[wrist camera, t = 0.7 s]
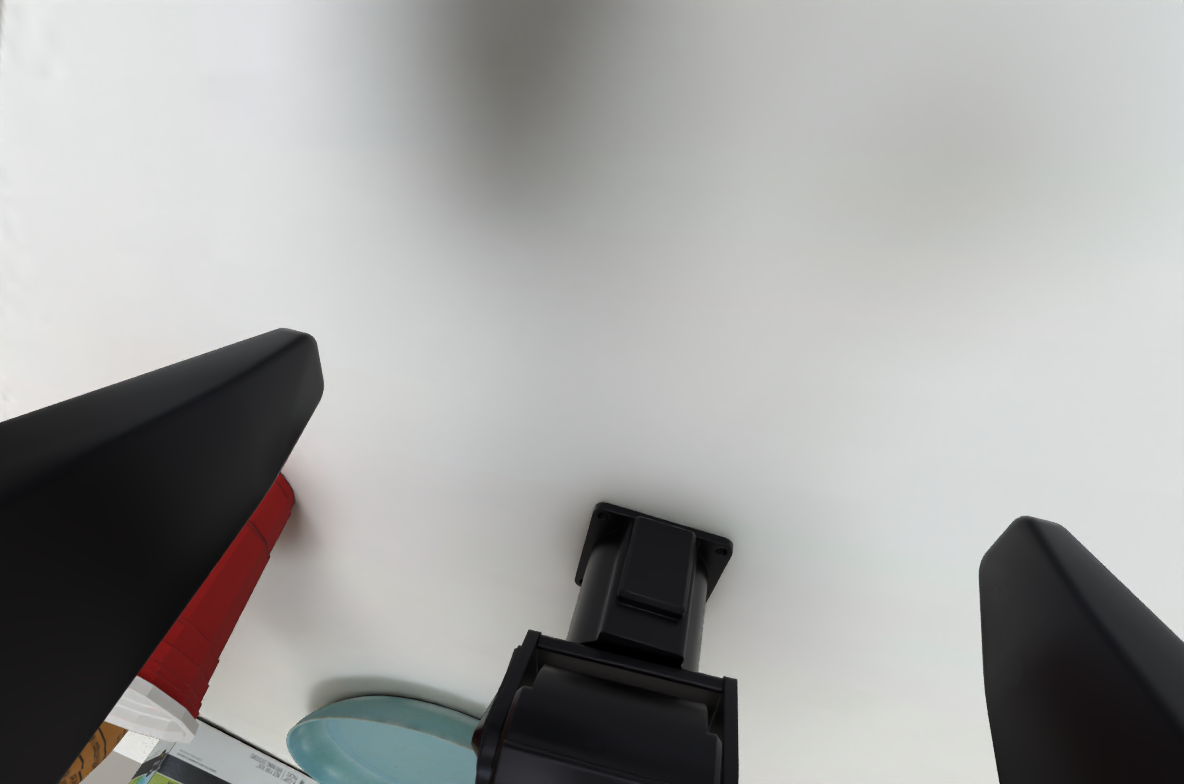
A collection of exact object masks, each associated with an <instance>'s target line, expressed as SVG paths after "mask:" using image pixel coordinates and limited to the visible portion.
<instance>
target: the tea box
mask: <svg viewBox="0 0 1184 784" xmlns="http://www.w3.org/2000/svg"><path fill="white" fill-rule="evenodd" d="M196 721H197V723H198V724H199V727H198V729H197V732H196V735H195V737H194V738H193V740H192V741H191V742H190V743H180V742H168V741H164V740H161V739H160V740H159V742H158V743H157V745H156V746H155V747H154V749H153V750H152V751H151V753H150V754H149V756H148V757H147V758H146V760H145V761H144V763H143V764H142V765H141V767H140V768H139V769H138V771H137V772H136V774H135V775H134V777H133V778H132V780H131V781H130V783H129V784H318V782H317V781H316V780H314V779H312V778H310V777H308V776H306V775H304V774H302V773H301V772H299V771H297V770H295V769H293V768H291V767H289V766H287V765H285V764H283V763H281V762H279V761H277V760H275V759H273V758H271V757H269V756H267V755H265V754H263V753H261V752H260V751H258V750H256V749H254V748H252V747H250V746H248V745H246V744H244V743H242V742H240V741H238V740H236V739H234V738H232V737H230V736H229V735H227V734H225V733H223V732H221V731H219V730H217V729H215V728H213V727H211V726H209V725H208V724H206V723H204V722H202V721H200V720H198V719H196Z"/></svg>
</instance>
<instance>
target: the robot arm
mask: <svg viewBox="0 0 1184 784" xmlns="http://www.w3.org/2000/svg"><path fill="white" fill-rule="evenodd" d="M323 390H324V380H323V374H322V369H321V363H320V358H319V352H318V346H317V342H316V340H315V339H314V337H313V336H311V335H310V334H307V333H304V332H300V331H296V330H292V329H287V328H279V329H276V330H273V331H270V332H267V333H264V334H261V335H258V336H255V337H252V338H249V339H246V340H243V341H240V342H237V343H234V344H231V345H228V346H225V347H223V348H220V349H217V350H214V351H211V352H208V353H205V354H202V355H199V356H196V357H193V358H190V359H187V360H184V361H181V362H178V363H175V364H172V365H169V366H166V367H163V368H160V369H157V370H154V371H151V372H149V373H146V374H143V375H140V376H137V377H134V378H131V379H128V380H125V381H122V382H119V383H116V384H113V385H110V386H107V387H104V388H101V389H98V390H95V391H92V392H89V393H86V394H83V395H80V396H77V397H75V398H72V399H69V400H66V401H63V402H60V403H57V404H54V405H51V406H48V407H45V408H42V409H39V410H36V411H33V412H30V413H27V414H24V415H21V416H18V417H15V418H12V419H9V420H6V421H3V422H1V423H0V784H59V783H60V782H61V780H62V779H63V777H64V776H65V775H66V773H67V772H68V770H69V769H70V768H71V766H72V765H73V764H74V762H75V761H76V759H77V758H78V757H79V755H80V754H81V752H82V751H83V750H84V748H85V747H86V745H87V744H88V743H89V741H90V740H91V738H92V737H93V736H94V734H95V733H96V732H97V730H98V729H99V727H100V726H101V725H102V723H103V722H104V720H105V719H106V718H107V716H108V715H109V713H110V712H111V711H112V709H113V708H114V706H115V705H116V704H117V702H118V701H119V700H120V698H121V697H122V695H123V694H124V693H125V691H126V690H127V688H128V687H129V686H130V684H131V683H132V681H133V680H134V679H135V677H136V676H137V674H138V673H139V672H140V670H141V669H142V668H143V666H144V665H145V663H146V662H147V661H148V659H149V658H150V656H151V655H152V654H153V652H154V651H155V649H156V648H157V647H158V645H159V644H160V642H161V641H162V640H163V638H164V637H165V636H166V634H167V633H168V631H169V630H170V629H171V627H172V626H173V624H174V623H175V622H176V620H177V619H178V617H179V616H180V615H181V613H182V612H183V610H184V609H185V608H186V606H187V605H188V604H189V602H190V601H191V599H192V598H193V597H194V595H195V594H196V592H197V591H198V590H199V588H200V587H201V585H202V584H203V583H204V581H205V580H206V579H207V577H208V576H209V574H210V573H211V572H212V570H213V569H214V567H215V566H216V565H217V563H218V562H219V560H220V559H221V558H222V556H223V555H224V553H225V552H226V551H227V549H228V548H229V547H230V545H231V544H232V542H233V541H234V540H235V538H236V537H237V535H238V534H239V533H240V531H241V530H242V528H243V527H244V526H245V524H246V523H247V521H248V520H249V519H250V517H251V516H252V515H253V513H254V512H255V510H256V509H257V508H258V506H259V505H260V503H261V502H262V500H263V499H264V497H265V496H266V494H267V493H268V491H269V490H270V488H271V487H272V485H273V483H274V482H275V480H276V478H277V477H278V475H279V473H280V471H281V470H282V468H283V466H284V464H285V462H286V461H287V459H288V457H289V455H290V453H291V452H292V450H293V448H294V446H295V445H296V443H297V441H298V439H299V437H300V436H301V434H302V432H303V430H304V429H305V427H306V425H307V423H308V421H309V420H310V418H311V416H312V414H313V413H314V411H315V409H316V407H317V405H318V404H319V402H320V400H321V397H322V394H323ZM732 553H733V543H732V542H731V541H730V540H729V539H727V538H724V537H720V536H717V535H714V534H710V533H707V532H704V531H700V530H697V529H693V528H690V527H687V526H683V525H680V524H677V523H673V522H670V521H666V520H663V519H660V518H656V517H653V516H650V515H646V514H643V513H639V512H636V511H633V510H629V509H626V508H623V507H619V506H616V505H613V504H609V503H605V502H601V503H598V504H596V506H595V508H594V511H593V515H592V518H591V522H590V526H589V529H588V533H587V536H586V540H585V544H584V547H583V551H582V555H581V558H580V562H579V566H578V569H577V573H576V577H575V583H576V584H577V585H578V586H580V587H581V589H580V592H579V596H578V599H577V603H576V606H575V610H574V613H573V617H572V620H571V624H570V628H569V631H568V635H567V638H566V640H562V639H558V638H553V637H549V636H545V635H542V633H541V632H538V631H534V630H530V629H529V630H528V632H527V635H526V637H525V639H524V641H523V644H522V646H520V645H519V646H518V647H517V648H515V649H514V652H513V655H512V658H511V661H510V663H509V666H508V669H507V672H506V674H505V677H504V679H503V681H502V683H501V686H500V688H499V690H498V692H497V694H496V695H495V697H494V699H493V700H492V702H491V704H490V705H489V707H488V709H487V710H486V712H485V714H484V715H483V717H482V718H481V720H480V722H479V723H478V725H477V727H476V728H475V730H474V733H473V736H472V740H471V746H472V749H473V751H474V753H475V755H476V757H477V763H476V778H475V784H738V778H739V758H738V694H737V679H734V678H730V677H725V676H723V678H720V677H715V676H711V675H707V674H703V673H699V672H698V668H699V659H700V650H701V641H702V631H703V622H704V613H705V604H706V602H707V600H708V598H709V596H710V595H711V593H712V591H713V589H714V587H715V585H716V584H717V582H718V580H719V578H720V576H721V574H722V572H723V571H724V569H725V567H726V565H727V563H728V561H729V560H730V558H731V556H732ZM979 591H980V612H981V633H982V655H983V674H984V686H985V696H986V703H987V710H988V717H989V723H990V729H991V735H992V741H993V747H994V753H995V759H996V765H997V771H998V777H999V783H1000V784H1184V642H1183V641H1182V640H1181V639H1180V638H1179V637H1178V636H1177V635H1176V634H1175V633H1173V632H1172V631H1171V630H1170V629H1169V628H1168V627H1167V626H1166V625H1165V624H1164V623H1163V622H1162V621H1161V620H1160V619H1159V618H1158V617H1157V616H1156V615H1155V614H1154V613H1153V612H1152V611H1151V610H1150V609H1149V608H1148V607H1146V606H1145V605H1144V604H1143V603H1142V602H1141V601H1140V600H1139V599H1138V598H1137V597H1136V596H1135V595H1134V594H1133V593H1132V592H1131V591H1130V590H1129V589H1128V588H1127V587H1126V586H1125V585H1124V584H1123V583H1122V582H1121V581H1119V580H1118V579H1117V578H1116V577H1115V576H1114V575H1113V574H1112V573H1111V572H1110V571H1109V570H1108V569H1107V568H1106V567H1105V566H1104V565H1103V564H1102V563H1101V562H1100V561H1099V560H1098V559H1097V558H1096V557H1095V556H1094V555H1092V554H1091V553H1090V552H1089V551H1088V550H1087V549H1086V548H1085V547H1084V546H1083V545H1082V544H1081V543H1080V542H1079V541H1078V540H1077V539H1076V538H1075V537H1074V536H1073V535H1072V534H1071V533H1070V532H1069V531H1068V530H1067V529H1065V528H1064V527H1063V526H1061V525H1060V524H1057V523H1054V522H1051V521H1047V520H1043V519H1039V518H1035V517H1031V516H1021V517H1019V518H1017V519H1015V520H1014V521H1013V522H1012V523H1011V524H1010V525H1009V527H1008V528H1007V529H1006V530H1005V531H1004V532H1003V534H1002V535H1001V536H1000V537H999V538H998V539H997V541H996V542H995V543H994V544H993V545H992V546H991V547H990V549H989V550H988V551H987V552H986V553H985V555H984V556H983V558H982V560H981V563H980V568H979Z"/></svg>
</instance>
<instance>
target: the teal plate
mask: <svg viewBox="0 0 1184 784" xmlns="http://www.w3.org/2000/svg"><path fill="white" fill-rule="evenodd" d="M479 722H480V720H478V719H475V718H473V717H470V716H468V715H465V714H463V713H460V712H457V711H454V710H451V709H448V708H445V707H442V706H438V705H435V704H431V703H427V702H422V701H418V700H413V699H406V698H400V697H392V696H363V697H356V698H350V699H346V700H342V701H339V702H336V703H332V704H329V705H327V706H325V707H322V708H320V709H318V710H316V711H314V712H313V713H311V714H309V715H308V716H306V717H305V718H303V719H302V720H300V721H299V722H298V723H297V724H296V725H295V726H294V727H293V728H291V730H290V731H289V733H288V735H287V739H286V743H287V748H288V750H289V753H290V754H291V756H292V757H293V759H294V760H295V762H296V763H297V764H298V765H299V766H300V767H301V768H302V769H303V770H304V771H305V772H306V773H307V774H308V775H309V776H311V777H312V778H313V779H314V780H316V781H317V782H318V783H320V784H475V778H476V763H477V757H476V755H475V753H474V751H473V749H472V746H471V740H472V736H473V733H474V730H475V728H476V727H477V725H478V723H479Z"/></svg>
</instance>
